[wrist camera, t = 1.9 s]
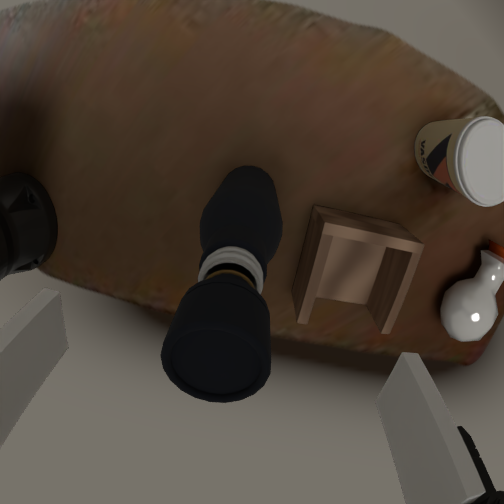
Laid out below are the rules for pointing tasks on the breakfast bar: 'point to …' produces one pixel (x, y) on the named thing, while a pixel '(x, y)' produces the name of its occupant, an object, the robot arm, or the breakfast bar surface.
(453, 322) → the potion bottle
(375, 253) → the u rest
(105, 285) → the breakfast bar surface
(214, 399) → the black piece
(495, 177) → the coffee cup
